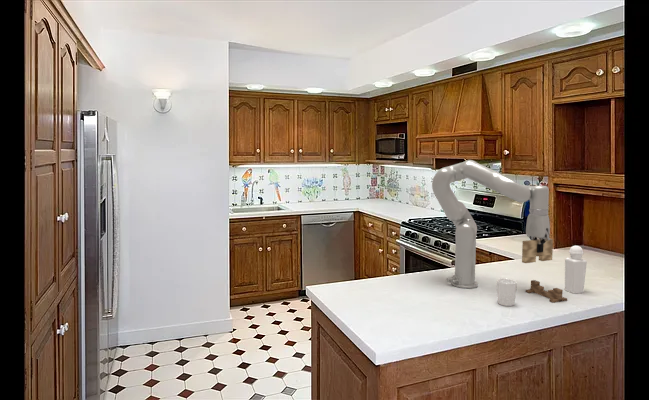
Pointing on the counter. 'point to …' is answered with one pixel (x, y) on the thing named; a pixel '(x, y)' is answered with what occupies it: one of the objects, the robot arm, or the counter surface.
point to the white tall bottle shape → (575, 270)
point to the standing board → (553, 294)
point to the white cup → (506, 291)
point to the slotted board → (531, 251)
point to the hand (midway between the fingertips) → (537, 251)
